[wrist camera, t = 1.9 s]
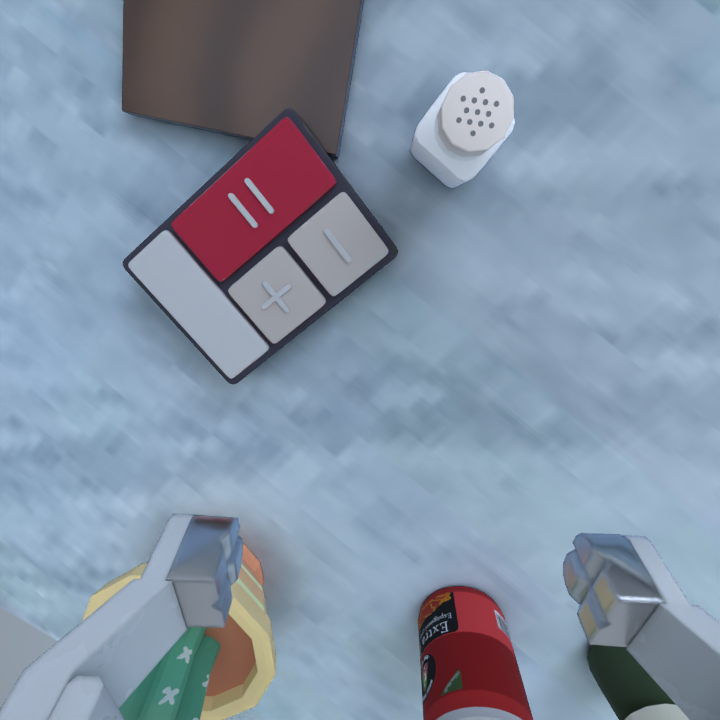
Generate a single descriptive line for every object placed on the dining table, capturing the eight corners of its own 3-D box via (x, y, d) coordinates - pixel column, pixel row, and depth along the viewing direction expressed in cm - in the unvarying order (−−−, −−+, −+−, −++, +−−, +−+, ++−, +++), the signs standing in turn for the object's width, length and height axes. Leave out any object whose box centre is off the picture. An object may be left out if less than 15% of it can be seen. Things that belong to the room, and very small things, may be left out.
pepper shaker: (406, 151, 28) (412, 120, 19) (448, 96, 27) (475, 36, 18) (451, 192, 29) (479, 181, 20) (494, 140, 28) (544, 102, 19)
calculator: (402, 253, 27) (228, 391, 30) (398, 251, 31) (245, 372, 34) (287, 99, 25) (111, 264, 28) (299, 118, 29) (145, 260, 32)
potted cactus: (234, 658, 44) (47, 1175, 20) (106, 571, 41) (-275, 1043, 18) (332, 573, 40) (241, 1104, 16) (196, 471, 37) (-150, 917, 13)
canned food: (435, 572, 39) (450, 703, 28) (518, 599, 39) (564, 739, 29) (405, 631, 41) (409, 772, 31) (483, 657, 41) (514, 805, 31)
